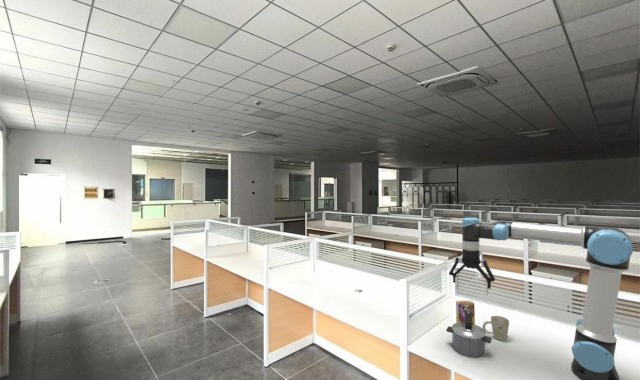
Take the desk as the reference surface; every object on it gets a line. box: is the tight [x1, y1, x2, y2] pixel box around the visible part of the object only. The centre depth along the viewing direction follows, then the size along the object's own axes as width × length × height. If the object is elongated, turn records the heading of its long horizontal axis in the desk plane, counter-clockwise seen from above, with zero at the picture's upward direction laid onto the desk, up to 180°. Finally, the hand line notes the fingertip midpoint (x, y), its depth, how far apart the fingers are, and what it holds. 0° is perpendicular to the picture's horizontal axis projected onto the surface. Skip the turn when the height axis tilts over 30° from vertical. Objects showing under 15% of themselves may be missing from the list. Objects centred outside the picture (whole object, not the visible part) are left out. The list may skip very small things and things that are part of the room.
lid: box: [451, 310, 487, 339], centre depth 148 cm, size 15×15×10 cm
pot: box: [445, 325, 493, 359], centre depth 148 cm, size 20×14×9 cm
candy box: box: [455, 300, 476, 325], centre depth 169 cm, size 9×4×15 cm, turn 85°
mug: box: [482, 315, 510, 342], centre depth 159 cm, size 8×13×10 cm, turn 78°
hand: (471, 292), depth 148 cm, fingers open, 13 cm apart
